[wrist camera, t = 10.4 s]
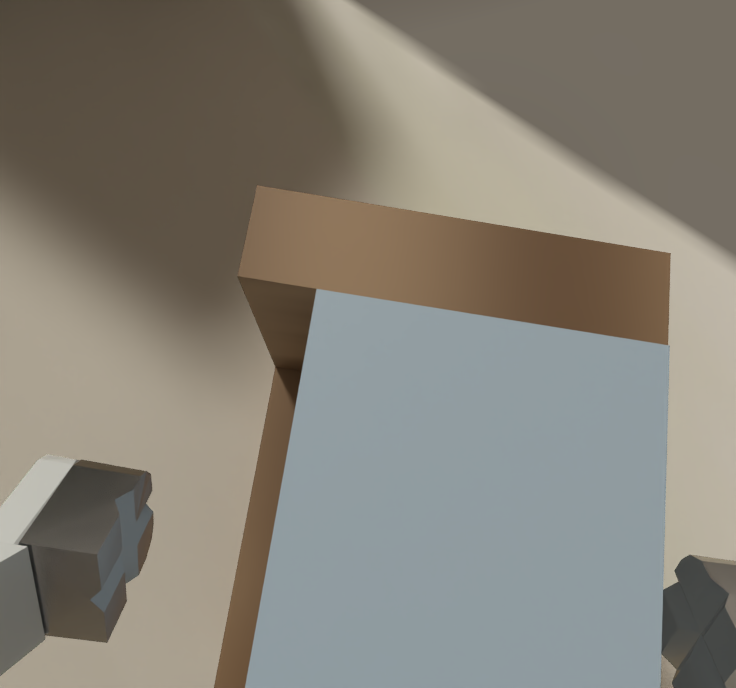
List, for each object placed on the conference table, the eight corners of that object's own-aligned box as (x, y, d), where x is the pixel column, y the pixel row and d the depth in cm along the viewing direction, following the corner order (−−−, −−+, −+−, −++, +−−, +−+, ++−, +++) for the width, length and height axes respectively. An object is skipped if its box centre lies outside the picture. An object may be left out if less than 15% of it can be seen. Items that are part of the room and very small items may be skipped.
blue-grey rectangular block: (287, 655, 16) (178, 1060, 4) (325, 427, 18) (316, 288, 6) (420, 674, 16) (649, 1123, 5) (446, 446, 18) (669, 346, 6)
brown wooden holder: (235, 657, 17) (108, 870, 7) (294, 343, 19) (256, 185, 9) (468, 692, 17) (651, 947, 7) (500, 376, 19) (670, 253, 10)
